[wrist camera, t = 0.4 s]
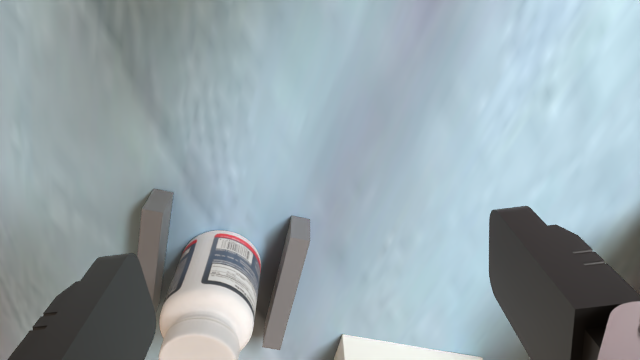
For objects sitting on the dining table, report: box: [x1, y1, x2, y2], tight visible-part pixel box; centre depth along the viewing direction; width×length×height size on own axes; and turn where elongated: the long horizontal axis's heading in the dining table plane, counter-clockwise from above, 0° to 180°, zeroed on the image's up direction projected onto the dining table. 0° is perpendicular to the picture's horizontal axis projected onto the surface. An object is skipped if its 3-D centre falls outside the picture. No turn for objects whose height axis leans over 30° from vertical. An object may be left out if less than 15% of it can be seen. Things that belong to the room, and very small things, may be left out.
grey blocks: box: [137, 189, 310, 350], centre depth 32 cm, size 9×10×2 cm
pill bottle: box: [159, 230, 261, 360], centre depth 29 cm, size 5×5×9 cm
